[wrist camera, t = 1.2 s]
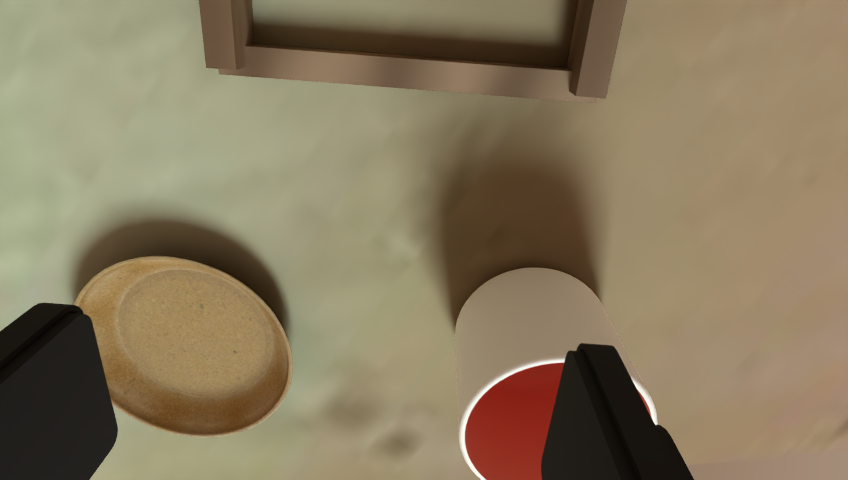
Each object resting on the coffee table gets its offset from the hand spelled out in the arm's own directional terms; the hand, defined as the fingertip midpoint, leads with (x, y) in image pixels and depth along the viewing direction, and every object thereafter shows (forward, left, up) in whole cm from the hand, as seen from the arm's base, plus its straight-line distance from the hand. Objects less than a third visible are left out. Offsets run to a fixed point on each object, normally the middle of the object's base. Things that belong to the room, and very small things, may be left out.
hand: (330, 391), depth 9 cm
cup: (-9, +13, -23) cm, 28 cm away
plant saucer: (+14, +16, -23) cm, 31 cm away
